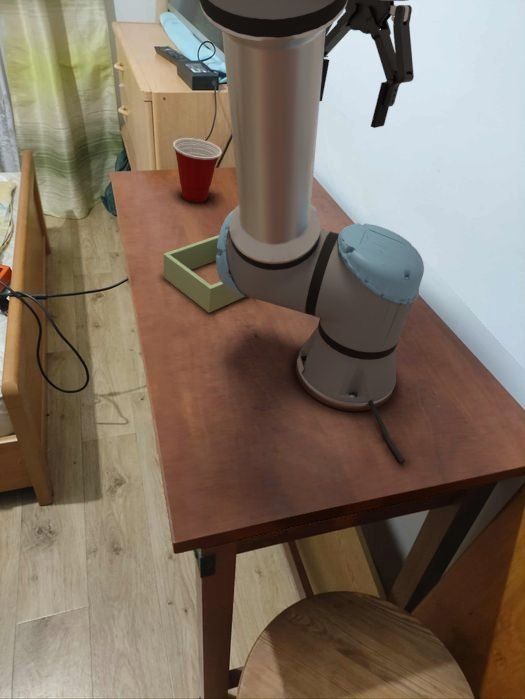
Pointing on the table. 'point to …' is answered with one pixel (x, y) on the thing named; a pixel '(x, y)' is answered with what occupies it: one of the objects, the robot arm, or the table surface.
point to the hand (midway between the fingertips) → (345, 113)
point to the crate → (189, 282)
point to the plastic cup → (196, 166)
